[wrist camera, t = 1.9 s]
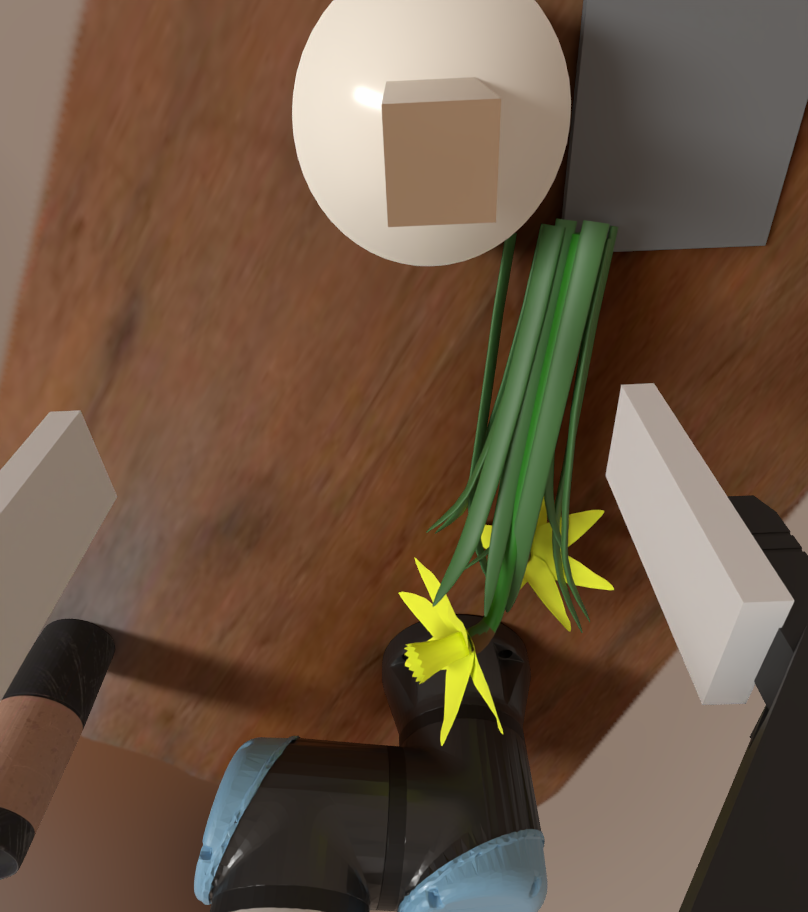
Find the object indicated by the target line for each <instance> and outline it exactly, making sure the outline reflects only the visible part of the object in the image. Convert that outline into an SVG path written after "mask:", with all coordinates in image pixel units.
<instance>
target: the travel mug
mask: <svg viewBox="0 0 808 912" xmlns="http://www.w3.org/2000/svg"><path fill="white" fill-rule="evenodd" d="M114 651H115V645H114V642H113V640H112V638H111V637H110V636H109V635H108V634H107V633H106V632H105V631H104V630H103V629H101V628H99V627H98V626H96V625H94V624H91V623H88V622H85V621H81V620H75V619H62V620H57V621H54V622H52V623H50V624H49V625H47V626H46V627H45V628H44V630H43V631H42V632H41V634H40V635H39V637H38V638H37V640H36V642H35V643H34V645H33V646H32V648H31V649H30V651H29V653H28V654H27V656H26V658H25V659H24V661H23V663H22V665H21V666H20V668H19V670H18V672H17V673H16V675H15V677H14V679H13V680H12V682H11V684H10V686H9V687H8V689H7V691H6V693H5V694H4V696H3V698H2V700H1V701H0V879H4V878H8V877H10V876H12V875H14V874H15V873H16V872H17V871H18V870H19V868H20V866H21V864H22V862H23V860H24V858H25V856H26V854H27V851H28V849H29V847H30V845H31V842H32V840H33V838H34V836H35V834H36V831H37V829H38V827H39V825H40V822H41V821H42V818H43V816H44V814H45V812H46V810H47V807H48V805H49V803H50V801H51V799H52V797H53V794H54V792H55V790H56V788H57V786H58V784H59V781H60V779H61V777H62V775H63V773H64V770H65V768H66V766H67V764H68V762H69V759H70V757H71V755H72V753H73V751H74V748H75V746H76V744H77V742H78V740H79V738H80V735H81V733H82V730H83V729H84V726H85V724H86V721H87V719H88V716H89V714H90V711H91V709H92V707H93V704H94V702H95V699H96V697H97V694H98V692H99V689H100V687H101V685H102V682H103V680H104V677H105V675H106V672H107V670H108V667H109V665H110V662H111V660H112V657H113V654H114Z"/></svg>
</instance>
